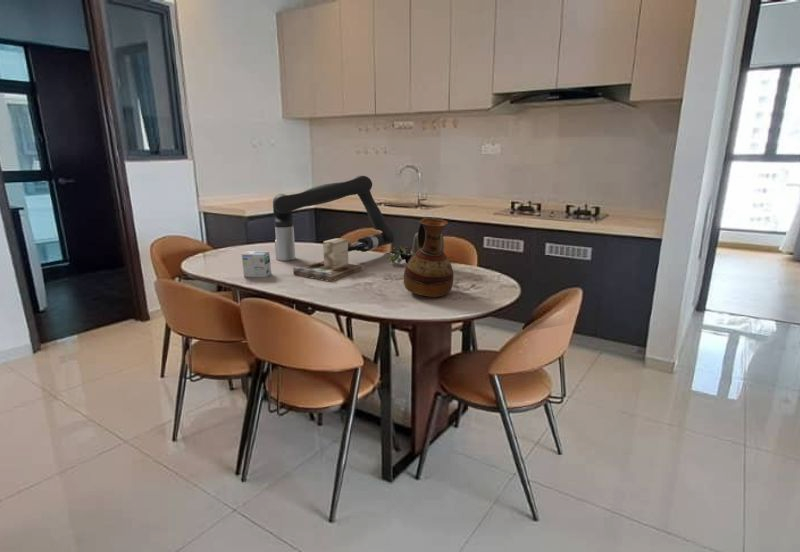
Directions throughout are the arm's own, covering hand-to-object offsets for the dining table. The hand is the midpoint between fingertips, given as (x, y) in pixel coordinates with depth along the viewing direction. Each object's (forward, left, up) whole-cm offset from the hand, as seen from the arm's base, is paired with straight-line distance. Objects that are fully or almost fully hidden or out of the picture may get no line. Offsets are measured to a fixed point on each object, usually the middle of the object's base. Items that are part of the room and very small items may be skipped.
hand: (347, 249), depth 227 cm
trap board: (0, -14, -8) cm, 17 cm away
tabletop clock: (+38, +12, -8) cm, 41 cm away
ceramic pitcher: (+55, -18, -8) cm, 59 cm away
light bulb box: (-24, -36, -8) cm, 44 cm away
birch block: (0, -9, -6) cm, 10 cm away
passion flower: (+22, +14, -8) cm, 28 cm away
